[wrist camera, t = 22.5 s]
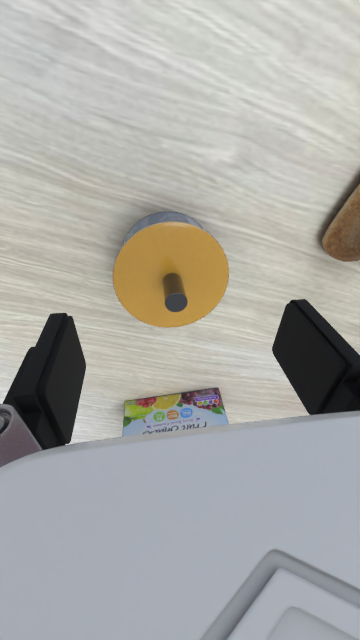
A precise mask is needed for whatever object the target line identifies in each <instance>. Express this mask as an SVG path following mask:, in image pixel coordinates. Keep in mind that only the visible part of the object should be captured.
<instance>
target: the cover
mask: <svg viewBox="0 0 360 640" xmlns="http://www.w3.org/2000/svg"><path fill="white" fill-rule="evenodd" d="M228 278H229V268H228V262H227V258H226V255H225V253H224V251H223V249H222V248H221V246H220V245H219V243H218V242H217V241H216V240H215V239H214V237H213V236H211V235H210V234H209V233H208V232H206V231H205V230H203V229H201V228H199V227H197V226H195V225H192V224H188V223H184V222H177V221H175V222H161V223H157V224H153V225H150V226H148V227H146V228H144V229H142V230H140V231H139V232H137V233H136V234H134V235H133V236H132V237H131V238H130V239H129V240H128V241H127V242H126V243H125V244H124V245H123V247H122V248H121V250H120V252H119V254H118V256H117V258H116V261H115V264H114V270H113V284H114V289H115V292H116V295H117V297H118V299H119V301H120V302H121V304H122V306H123V307H124V308H125V309H126V310H127V311H128V312H129V313H130V314H131V315H132V316H134V317H135V318H137V319H138V320H140V321H142V322H144V323H147V324H150V325H153V326H158V327H179V326H184V325H188V324H190V323H193V322H195V321H197V320H199V319H201V318H203V317H204V316H206V315H207V314H208V313H210V312H211V311H212V310H213V309H214V308H215V307H216V306H217V304H218V303H219V302H220V300H221V298H222V297H223V295H224V293H225V290H226V287H227V284H228Z"/></svg>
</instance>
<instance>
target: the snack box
mask: <svg viewBox="0 0 360 640" xmlns="http://www.w3.org/2000/svg"><path fill="white" fill-rule="evenodd" d="M228 424H229V423H228V420H227V416H226V413H225V409H224V406H223V402H222V399H221V395H220V392H219V389H218V388H215V389H208V390H201V391H195V392H187V393H181V394H173V395H166V396H159V397H152V398H145V399H138V400H131V401H126V402H125V408H124V420H123V433H122V437H126V436H134V435H143V434H151V433H159V432H168V431H176V430H184V429H193V428H202V427H210V426H219V425H228Z"/></svg>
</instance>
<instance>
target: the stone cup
mask: <svg viewBox="0 0 360 640" xmlns="http://www.w3.org/2000/svg"><path fill="white" fill-rule="evenodd" d="M322 246H323V248H324V250H325V251H326V252H327V253H328V254H329V255H330V256H332V257H334V258H335V259H338V260H341V261H358V260H360V184H359V185H358V186H357V187H356V189H355V190H354V191H353V193H352V194H351V195H350V197H349V198H348V200H347V201H346V202H345V204H344V205H343V207H342V208H341V209H340V211H339V212H338V214H337V215H336V217H335V218H334V220H333V221H332V223H331V224H330V226H329V227H328V229H327V230H326V232H325V234H324V237H323V239H322Z"/></svg>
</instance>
